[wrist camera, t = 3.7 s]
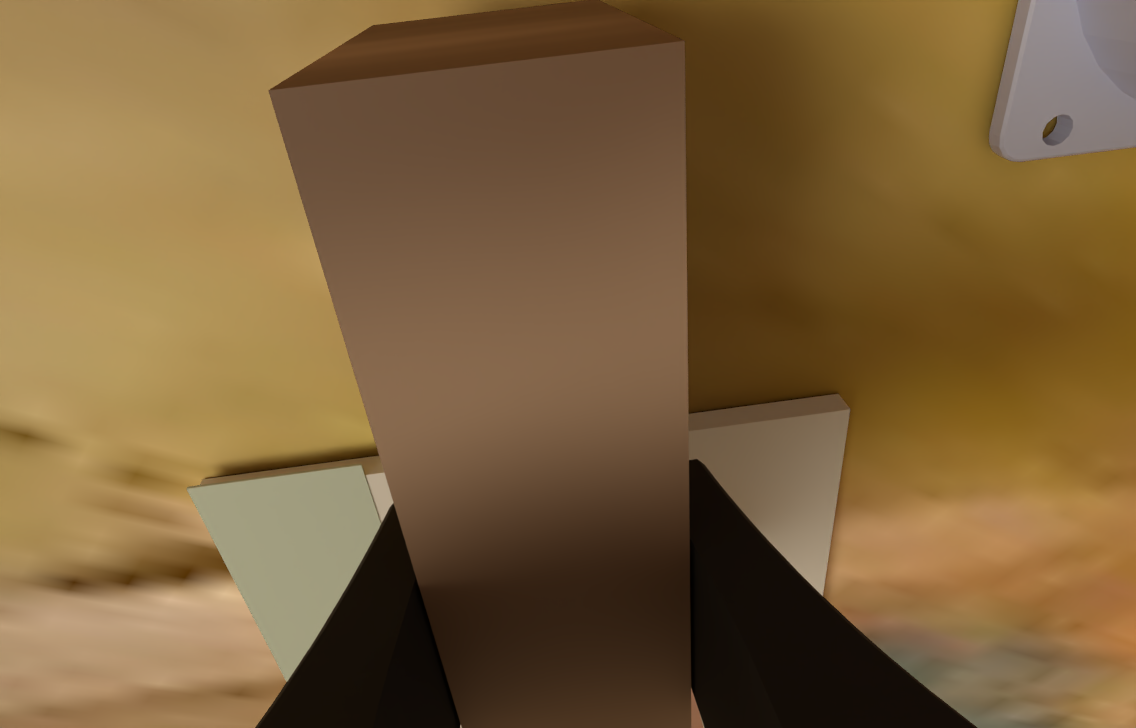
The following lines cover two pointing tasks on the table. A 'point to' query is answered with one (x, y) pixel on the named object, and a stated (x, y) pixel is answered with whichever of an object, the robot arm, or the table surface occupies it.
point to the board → (362, 499)
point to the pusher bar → (520, 340)
